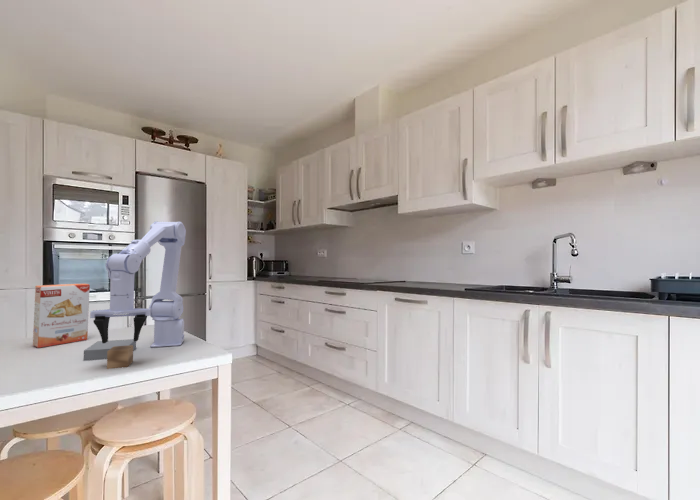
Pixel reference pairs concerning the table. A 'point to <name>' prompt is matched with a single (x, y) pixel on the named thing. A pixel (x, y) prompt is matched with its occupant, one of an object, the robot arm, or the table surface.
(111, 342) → the gray block
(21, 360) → the table surface
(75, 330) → the cracker box
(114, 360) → the walnut cube
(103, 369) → the table surface
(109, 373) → the table surface
